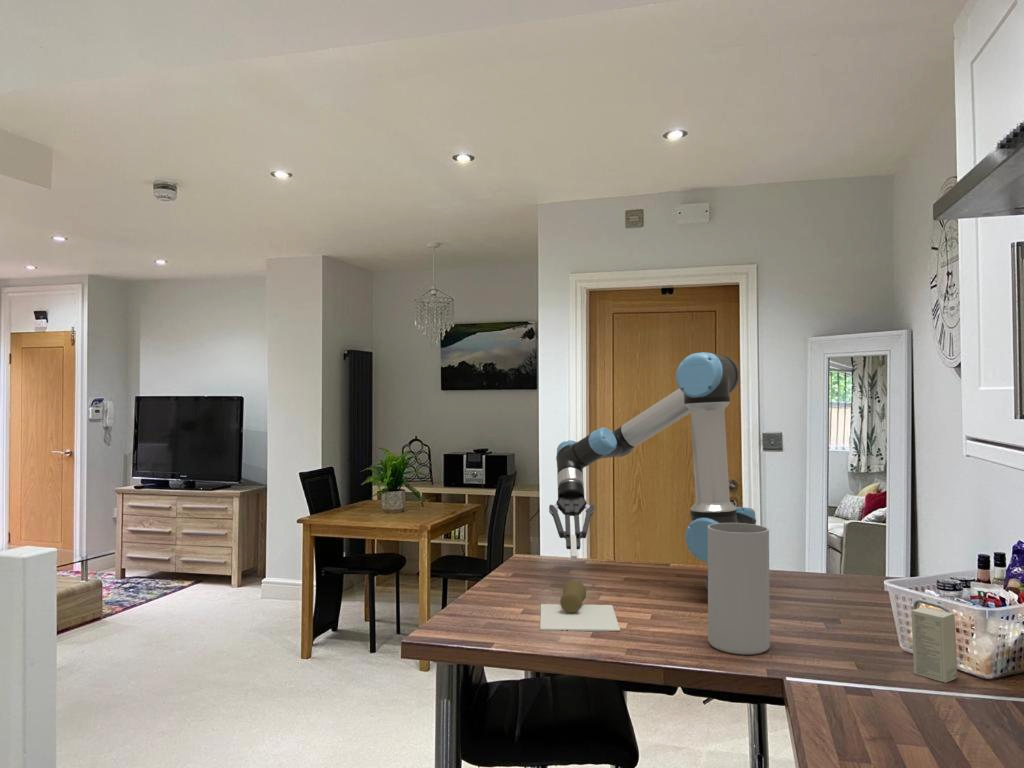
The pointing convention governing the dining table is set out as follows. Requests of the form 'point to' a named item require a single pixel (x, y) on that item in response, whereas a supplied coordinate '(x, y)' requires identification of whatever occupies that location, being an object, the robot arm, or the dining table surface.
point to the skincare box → (934, 644)
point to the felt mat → (578, 618)
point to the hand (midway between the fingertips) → (573, 558)
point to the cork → (572, 596)
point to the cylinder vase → (738, 588)
